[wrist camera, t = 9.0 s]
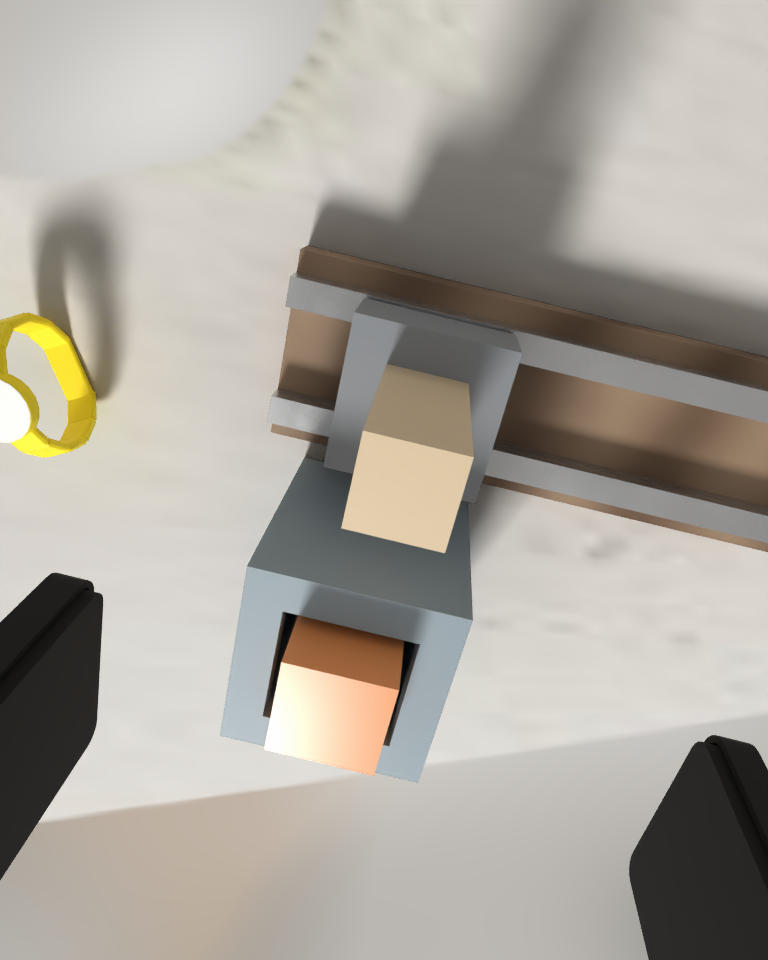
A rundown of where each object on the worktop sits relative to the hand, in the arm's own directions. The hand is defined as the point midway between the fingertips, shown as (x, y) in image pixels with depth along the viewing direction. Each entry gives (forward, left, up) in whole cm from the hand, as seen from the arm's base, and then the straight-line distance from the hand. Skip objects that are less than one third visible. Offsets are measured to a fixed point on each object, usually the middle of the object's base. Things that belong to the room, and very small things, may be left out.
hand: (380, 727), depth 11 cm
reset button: (+1, +10, -13) cm, 16 cm away
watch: (+16, +4, -22) cm, 28 cm away
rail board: (-5, 0, -22) cm, 22 cm away
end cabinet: (+1, +10, -22) cm, 24 cm away
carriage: (0, 0, -19) cm, 19 cm away
